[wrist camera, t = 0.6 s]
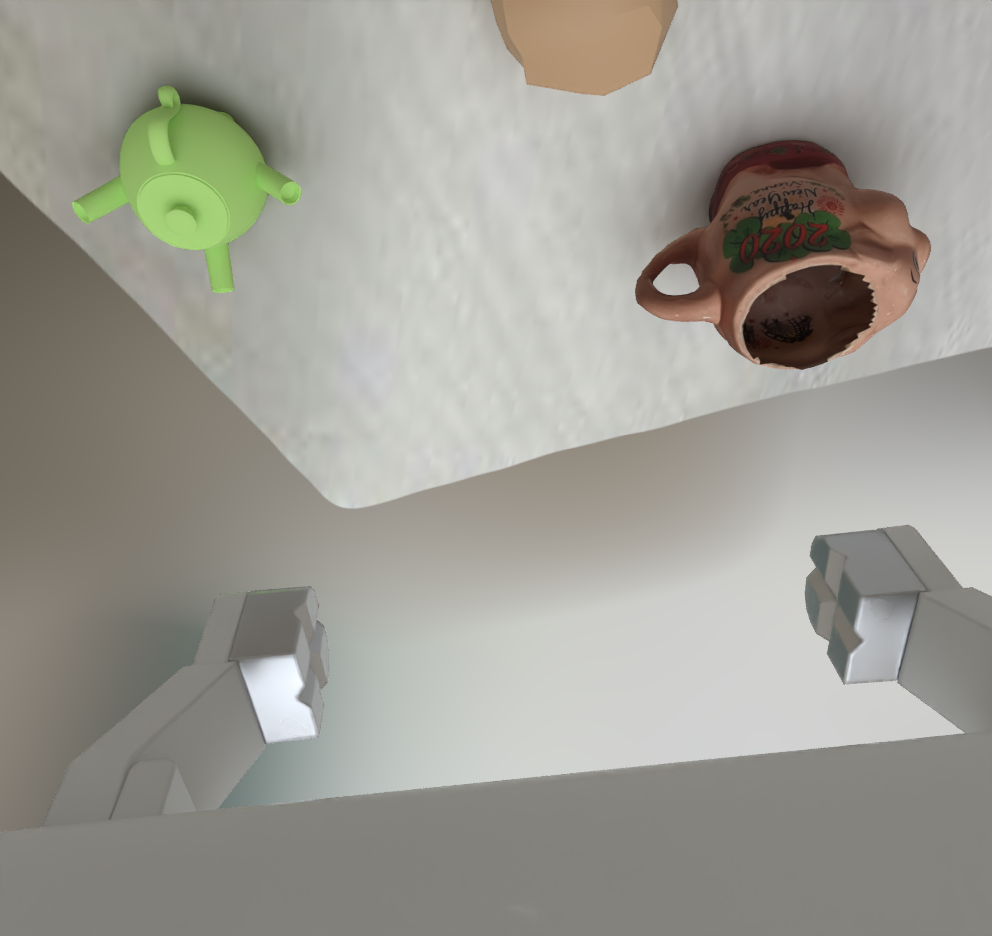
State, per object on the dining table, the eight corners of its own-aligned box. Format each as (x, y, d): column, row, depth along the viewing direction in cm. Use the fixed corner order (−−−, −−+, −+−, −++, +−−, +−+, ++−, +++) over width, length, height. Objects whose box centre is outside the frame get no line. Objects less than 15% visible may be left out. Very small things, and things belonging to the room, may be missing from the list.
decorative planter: (628, 292, 71) (657, 413, 62) (607, 162, 62) (638, 282, 53) (878, 236, 68) (946, 354, 59) (895, 90, 59) (979, 205, 50)
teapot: (162, 36, 54) (132, 102, 48) (319, 145, 60) (308, 215, 54) (90, 162, 60) (56, 233, 54) (239, 250, 66) (222, 321, 60)
